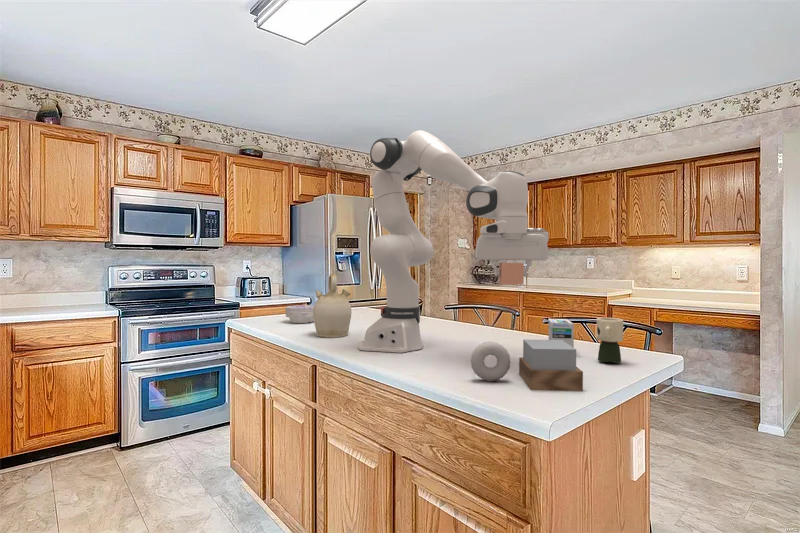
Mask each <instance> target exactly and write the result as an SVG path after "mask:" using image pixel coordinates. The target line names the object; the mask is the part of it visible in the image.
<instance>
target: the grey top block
mask: <svg viewBox="0 0 800 533" xmlns="http://www.w3.org/2000/svg"><path fill="white" fill-rule="evenodd" d="M522 342H523V344H522V348H523V349H522V350H523V351H522V354H523V355H522V357H523V359H524V360H525V361H526V362H527V363H528V364H529V366H530V367H531V368H532V369H533V370H574V371H576V367H577V349H576V348H575V347H574V348H573V347H572V346H570V345H569V344H567V343H566V342H564V341H563V340H549V339H523V340H522Z"/></svg>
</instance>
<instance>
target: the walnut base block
mask: <svg viewBox="0 0 800 533" xmlns="http://www.w3.org/2000/svg"><path fill="white" fill-rule="evenodd" d="M518 360H519V361H518V362H519V363H518V365H519V368H518V370H519V371H518V374H519V376H520V378H521V379H522V380H523V382H524V384H526V386H527V387H528V388H529V390H530V391H554V392H555V391H562V392H563V391H564V392H565V391H567V392H583V390H584V384H583V383H584V372H583V370H582V369H580V368H579V367H577V366H576V371H574V370H533V369H532V368H531V367H530V366H529V364H528V363H527V362H526V361H525V360H524V359H523V356H522V357H518Z"/></svg>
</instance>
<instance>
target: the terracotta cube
mask: <svg viewBox="0 0 800 533" xmlns="http://www.w3.org/2000/svg"><path fill="white" fill-rule="evenodd" d="M524 265H525V262H499V263H498V270H501V273H500V274H501V276H498V284H499V285H505V286H506V285H509V286H510V285H513V286H514V285H516V286H522V285H524V269H525V266H524Z"/></svg>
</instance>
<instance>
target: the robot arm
mask: <svg viewBox="0 0 800 533" xmlns="http://www.w3.org/2000/svg"><path fill="white" fill-rule="evenodd" d="M369 157H370V161H371V163H372V165H374V167H376V168H378V169H379V170H378V171H377V172H375V173H374V174H373V175H372V178H371V179H372V180H371V188H372V196H373V201H374V205H375V210H376V214H377V217H378V221H379V224H380V225H381V227H383V228H384V229H386V230H387V232H388V234H383V235H379V236H376V237H375V238H374V239H373V240H372V242H371V245H370V248H369V250H370V251H369V252H370V257H371V259H372V261H373V263H375V264H376V265H377V266H378V267H379V269H380V271H381V272H382V276H383V277H384V281H385V287H386V288H385V289H386V306H382V307H381V308H380V317H379V319H377V320H376V321H375V322H374V323H373V324H371V325H370V326H369V327H368V328H367V329H366V330H365V334H364V340H362V341H360V342H359V343H358V344H357V345H358V346H357V349H358V350H360V351H369V352H370V351H371V352H383V353H399V354H400V353H402V354H403V353H407V352H410V351H417V350H421V349H423V348H424V345H423V341H422V336H421V329H420V321H421V307H420V305H419V296H420V292H419V289H420V288H419V283H418V282H417V281H416V280H415V279H414V278H413V277H412V275H411V272H410V267H419V266H422V265H424V264H427V263H429V262H430V261H431V260H432V258H433V256H434V247H433V243H432V242H431V241H430V239H428V238H427V237H425V235H423V233H422V232H421V231H420V230H419V228H418V226H417V224H416V223H415V221H414V220H413V218H412V215H411V212H410V210H409V206H408V202H407V199H406V198H407V197H406V195H405V191H404V188H403V182H404V181H405V182H406V181H408V182H409V181H410V180H411V179H412V178H413V177H414V176H417V175H418V174H420V173H421V172H422V171H423V172H424V173H425V174H427V175H428V176H430V177H431V178H433V179H436V180H438V181H442V182H446V183H449V184H454V185H457V186H458V187H462V188H464V189H465V190H466V191H468V193H467V195H466V199H465V200H466V201H465V205H466V209H467V211H468V212H469V213H470V214H471V216H475V217H477V218H482V219H486V220H487V219H490V220H493V221H495V222H491V223H488V224H487V225H482V226H481V227H480V229H479V233H480V235H479V237H478V238H477V240H476V246H475V256H474V257H475V258H476V260H478V261H490V264H491V266H492V269H493V270H494V276H495V277H499V276H501V274H500V273H501V270H499V268H497V264H498V261H524V265H525V266H524V277H528V271H529V269H530V267H531V266H532V264H533V263H532V261H546V260H547V259H549V247H548V242H549V240H550V234H549V232H548V231H547V230H546V229H544V227H543V228H542V227H539V228H536V227H528V224H529V222H528V221H529V219H528V217H529V216H528V212H527V207H528V203H529V190H528V188H529V187H528V180H527V177H526V176H525V174H523V173H522V172H518V171H513V170H512V171H511V170H502V171H499V172H498V173H497V174H496V175H495V176H494V177H493V178H491V179H490V180H488V179H487V178H485V177H484V176H483V175H481V174H480V173H478V172H477V171H476V170H475V169H473V168H472V167H471V166H470V165H469V164H467V163H466V162H465V161H464V160H463V159H462V158H461V157H460V156H459V155H458V154H456V153H455V152H454V150H453V149H452V148H450V147H449V146H448V145H447V144H446V143H445V142H443V141H442V140H441V139H440V138H438V137H437V136H436V135H434V134H432V133H430V132H427V131H425V130H422V129H418V130H415V131H413V132H412V133H410V135H409V136H408V137H407V138H406V139H405V140H400V138H398V137H382V138H378V139H377V140H375V141H374V142H373V143H372V145H371V148H370V153H369Z"/></svg>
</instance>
